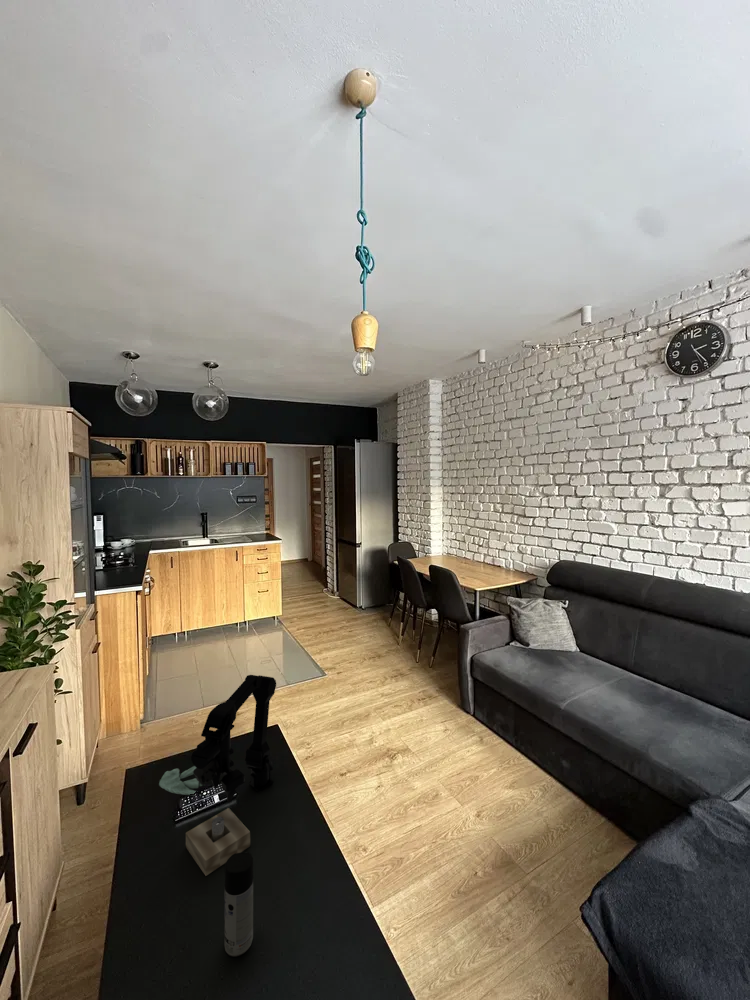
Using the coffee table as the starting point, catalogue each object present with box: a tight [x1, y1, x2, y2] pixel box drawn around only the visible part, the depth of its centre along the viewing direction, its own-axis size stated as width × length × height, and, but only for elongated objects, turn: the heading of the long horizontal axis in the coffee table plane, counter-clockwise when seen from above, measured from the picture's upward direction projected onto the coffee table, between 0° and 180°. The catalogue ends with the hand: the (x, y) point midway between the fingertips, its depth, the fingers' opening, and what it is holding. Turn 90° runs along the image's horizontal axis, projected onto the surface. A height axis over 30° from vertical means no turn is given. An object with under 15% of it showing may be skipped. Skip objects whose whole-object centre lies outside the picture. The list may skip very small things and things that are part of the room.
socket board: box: [185, 807, 251, 877], centre depth 129 cm, size 14×14×4 cm
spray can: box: [223, 851, 254, 958], centre depth 101 cm, size 7×7×20 cm
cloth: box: [158, 765, 206, 796], centre depth 159 cm, size 20×22×2 cm
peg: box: [212, 817, 224, 843], centre depth 129 cm, size 4×4×8 cm
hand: (222, 794), depth 135 cm, fingers open, 9 cm apart
